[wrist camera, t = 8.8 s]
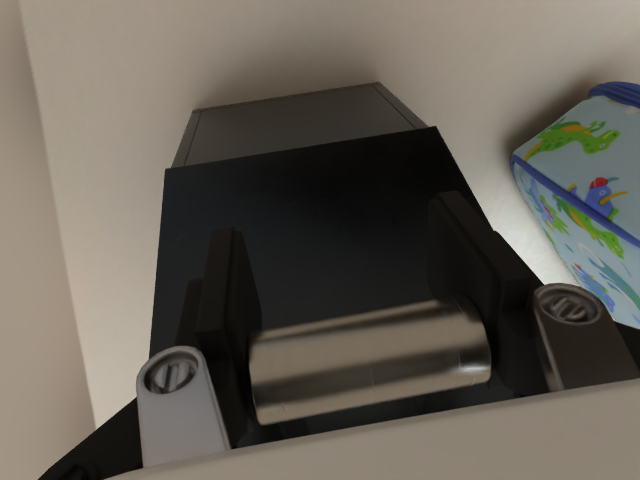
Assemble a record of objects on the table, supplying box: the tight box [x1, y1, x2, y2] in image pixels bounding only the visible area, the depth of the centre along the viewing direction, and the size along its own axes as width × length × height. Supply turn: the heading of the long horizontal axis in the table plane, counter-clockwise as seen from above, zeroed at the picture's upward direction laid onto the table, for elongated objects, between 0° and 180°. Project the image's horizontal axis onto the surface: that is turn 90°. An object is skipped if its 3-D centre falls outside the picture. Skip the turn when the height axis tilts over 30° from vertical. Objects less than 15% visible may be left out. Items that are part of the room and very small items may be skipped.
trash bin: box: [171, 82, 428, 168], centre depth 30 cm, size 14×13×11 cm
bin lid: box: [149, 126, 514, 448], centre depth 15 cm, size 15×13×6 cm
